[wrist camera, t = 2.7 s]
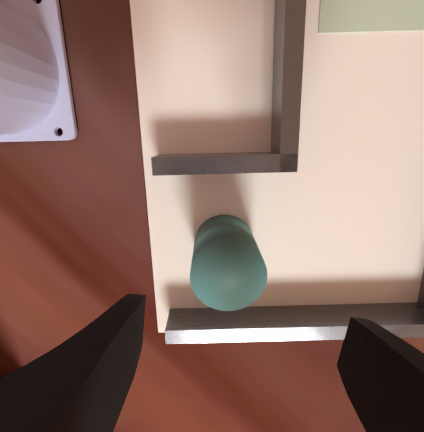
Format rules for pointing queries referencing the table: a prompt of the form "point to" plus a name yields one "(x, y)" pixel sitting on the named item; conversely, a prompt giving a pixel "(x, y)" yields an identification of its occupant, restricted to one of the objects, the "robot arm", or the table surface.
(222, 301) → the peg
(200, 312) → the guide walls
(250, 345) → the table surface
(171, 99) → the maze board
